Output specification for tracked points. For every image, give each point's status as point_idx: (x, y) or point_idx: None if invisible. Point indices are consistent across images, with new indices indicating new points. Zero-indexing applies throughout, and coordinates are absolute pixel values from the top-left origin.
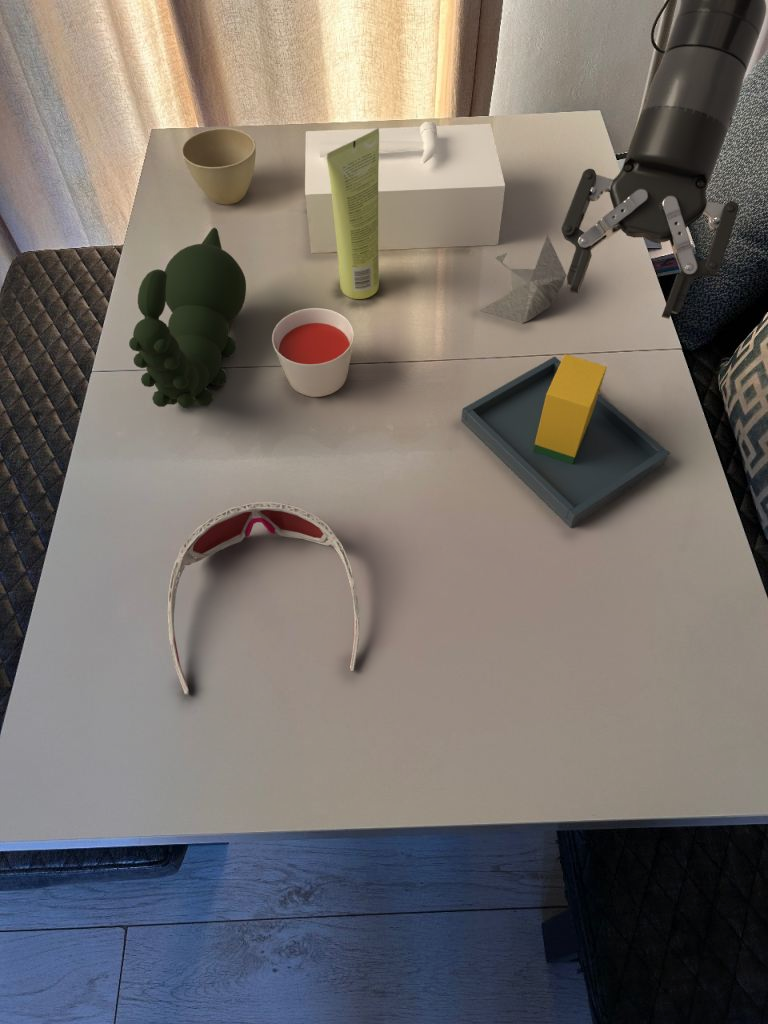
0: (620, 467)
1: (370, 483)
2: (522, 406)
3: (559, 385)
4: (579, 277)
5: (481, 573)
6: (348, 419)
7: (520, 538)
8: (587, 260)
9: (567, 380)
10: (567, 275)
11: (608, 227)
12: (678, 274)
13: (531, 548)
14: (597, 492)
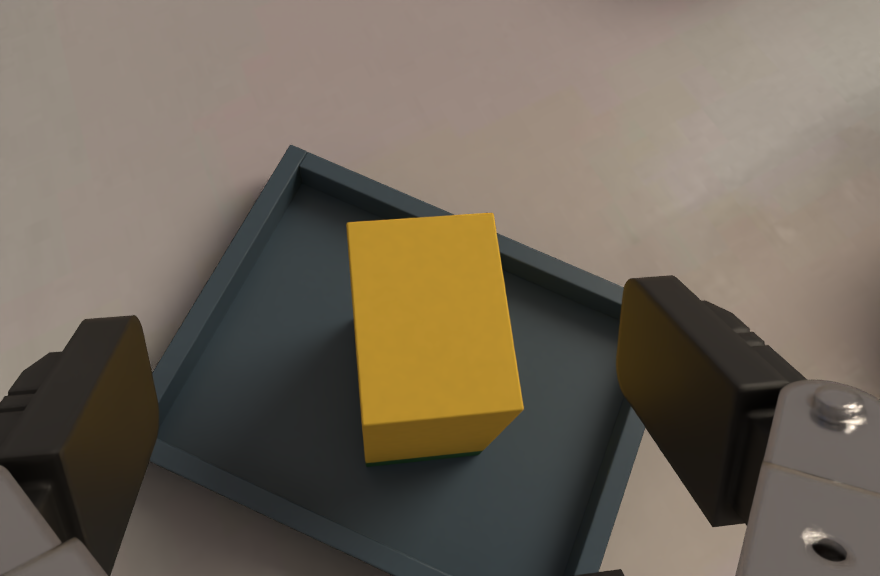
0: (237, 369)
1: (718, 90)
2: (556, 439)
3: (473, 262)
4: (667, 296)
5: (416, 11)
6: (875, 210)
7: (382, 104)
8: (704, 356)
9: (459, 293)
10: (732, 314)
11: (779, 472)
12: (49, 450)
13: (352, 94)
14: (268, 268)
